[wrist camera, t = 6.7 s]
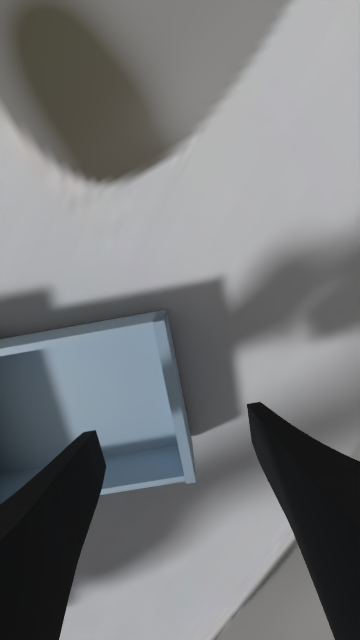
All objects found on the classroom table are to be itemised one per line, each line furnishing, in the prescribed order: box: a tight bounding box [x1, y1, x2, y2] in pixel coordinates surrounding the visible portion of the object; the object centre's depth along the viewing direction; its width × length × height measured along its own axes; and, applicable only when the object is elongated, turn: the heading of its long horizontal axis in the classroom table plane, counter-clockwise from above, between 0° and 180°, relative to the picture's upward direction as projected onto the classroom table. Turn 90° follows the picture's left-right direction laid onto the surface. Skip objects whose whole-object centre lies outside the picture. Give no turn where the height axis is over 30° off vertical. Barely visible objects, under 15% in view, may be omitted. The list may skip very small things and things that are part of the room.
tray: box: [0, 310, 196, 504], centre depth 15 cm, size 10×17×3 cm, turn 100°
